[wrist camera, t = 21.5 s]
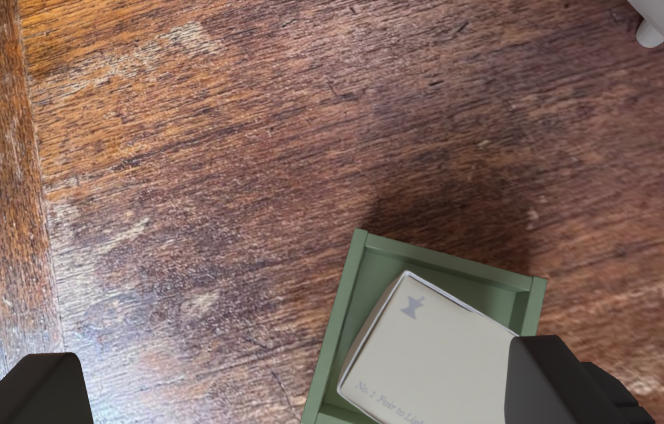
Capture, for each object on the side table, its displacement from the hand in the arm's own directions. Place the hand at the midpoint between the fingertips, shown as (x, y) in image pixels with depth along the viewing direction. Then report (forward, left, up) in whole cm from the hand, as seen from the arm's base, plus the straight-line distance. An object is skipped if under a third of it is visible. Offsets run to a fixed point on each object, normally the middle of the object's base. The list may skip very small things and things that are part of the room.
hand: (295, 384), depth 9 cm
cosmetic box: (+4, 0, -18) cm, 18 cm away
